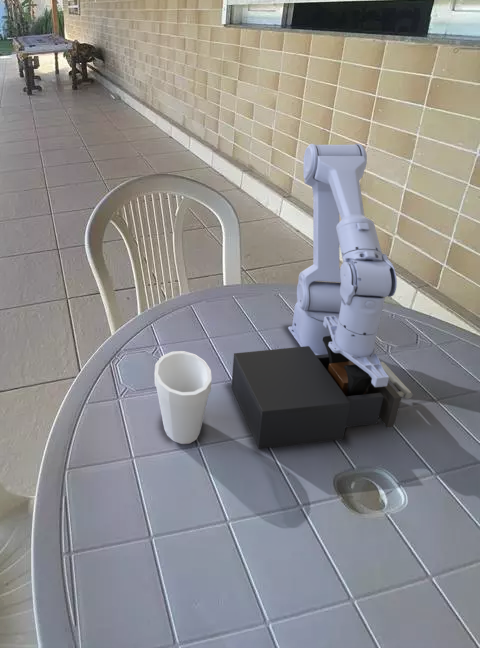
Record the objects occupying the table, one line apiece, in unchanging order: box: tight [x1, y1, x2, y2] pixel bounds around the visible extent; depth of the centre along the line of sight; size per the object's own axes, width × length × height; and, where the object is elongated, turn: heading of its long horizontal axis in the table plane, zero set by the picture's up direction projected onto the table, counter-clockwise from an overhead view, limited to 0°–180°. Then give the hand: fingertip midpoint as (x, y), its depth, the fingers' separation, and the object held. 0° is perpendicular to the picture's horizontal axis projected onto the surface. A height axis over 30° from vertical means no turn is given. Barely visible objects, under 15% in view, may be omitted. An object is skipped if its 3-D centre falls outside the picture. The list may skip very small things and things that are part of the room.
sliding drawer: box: [316, 354, 414, 429], centre depth 76 cm, size 18×11×7 cm, turn 94°
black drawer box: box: [230, 346, 350, 449], centre depth 76 cm, size 15×13×9 cm
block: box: [328, 361, 366, 396], centre depth 75 cm, size 4×4×4 cm
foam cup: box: [154, 350, 212, 445], centre depth 73 cm, size 10×9×13 cm
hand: (345, 384), depth 76 cm, fingers closed on block, 4 cm apart
